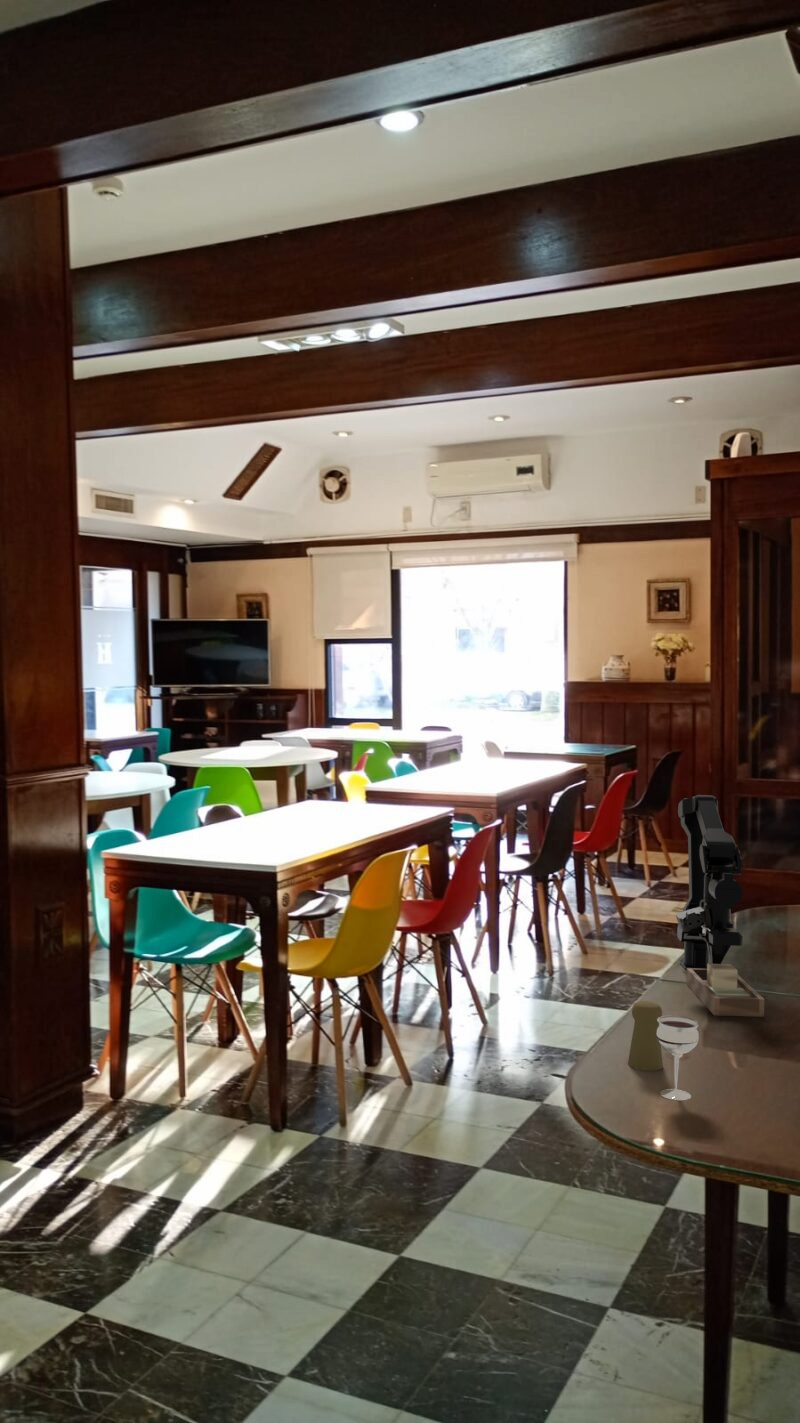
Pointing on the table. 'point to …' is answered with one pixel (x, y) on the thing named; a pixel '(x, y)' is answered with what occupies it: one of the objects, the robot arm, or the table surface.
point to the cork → (645, 1037)
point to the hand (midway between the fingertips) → (715, 969)
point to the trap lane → (725, 996)
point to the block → (722, 976)
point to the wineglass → (677, 1045)
